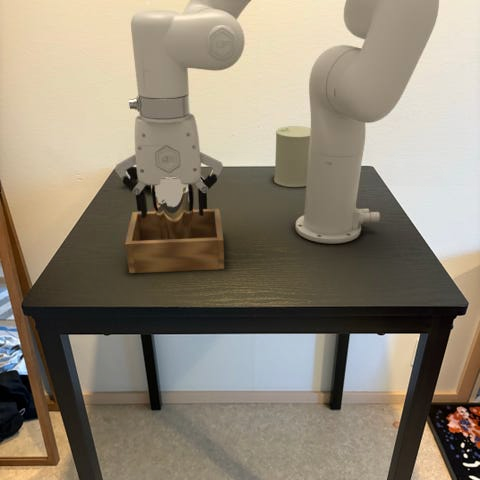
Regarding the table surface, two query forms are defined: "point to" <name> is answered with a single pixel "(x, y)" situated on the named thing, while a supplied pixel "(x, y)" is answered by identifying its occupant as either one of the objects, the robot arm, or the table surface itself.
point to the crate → (175, 245)
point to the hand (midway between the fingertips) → (173, 213)
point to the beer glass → (173, 208)
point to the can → (292, 156)
